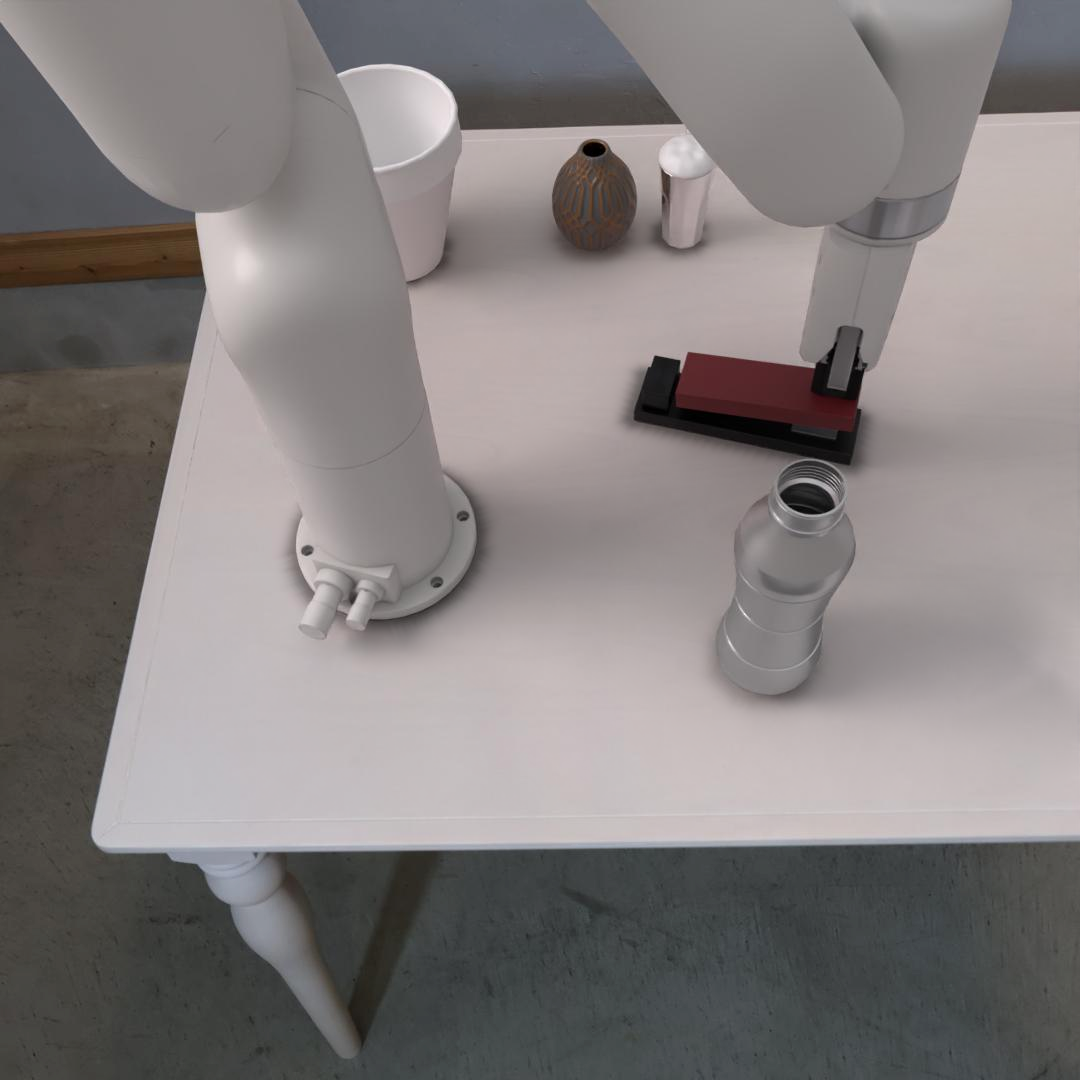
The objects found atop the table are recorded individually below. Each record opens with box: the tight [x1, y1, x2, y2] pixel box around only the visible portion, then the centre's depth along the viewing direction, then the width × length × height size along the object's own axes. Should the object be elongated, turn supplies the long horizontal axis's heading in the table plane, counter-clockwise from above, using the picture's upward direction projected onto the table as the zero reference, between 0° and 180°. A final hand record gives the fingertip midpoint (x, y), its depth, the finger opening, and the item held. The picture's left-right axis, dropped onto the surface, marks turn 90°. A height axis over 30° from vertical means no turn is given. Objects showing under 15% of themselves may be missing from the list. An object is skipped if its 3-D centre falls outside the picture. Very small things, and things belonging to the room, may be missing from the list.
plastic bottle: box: [715, 458, 857, 696], centre depth 65 cm, size 6×7×20 cm
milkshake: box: [657, 127, 717, 250], centre depth 90 cm, size 4×5×10 cm
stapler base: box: [633, 354, 863, 466], centre depth 82 cm, size 16×4×3 cm, turn 73°
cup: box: [336, 63, 463, 283], centre depth 89 cm, size 12×12×14 cm
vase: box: [551, 138, 638, 252], centre depth 91 cm, size 7×7×9 cm
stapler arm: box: [676, 351, 864, 432], centre depth 80 cm, size 12×4×2 cm, turn 73°
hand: (835, 387), depth 78 cm, fingers closed
